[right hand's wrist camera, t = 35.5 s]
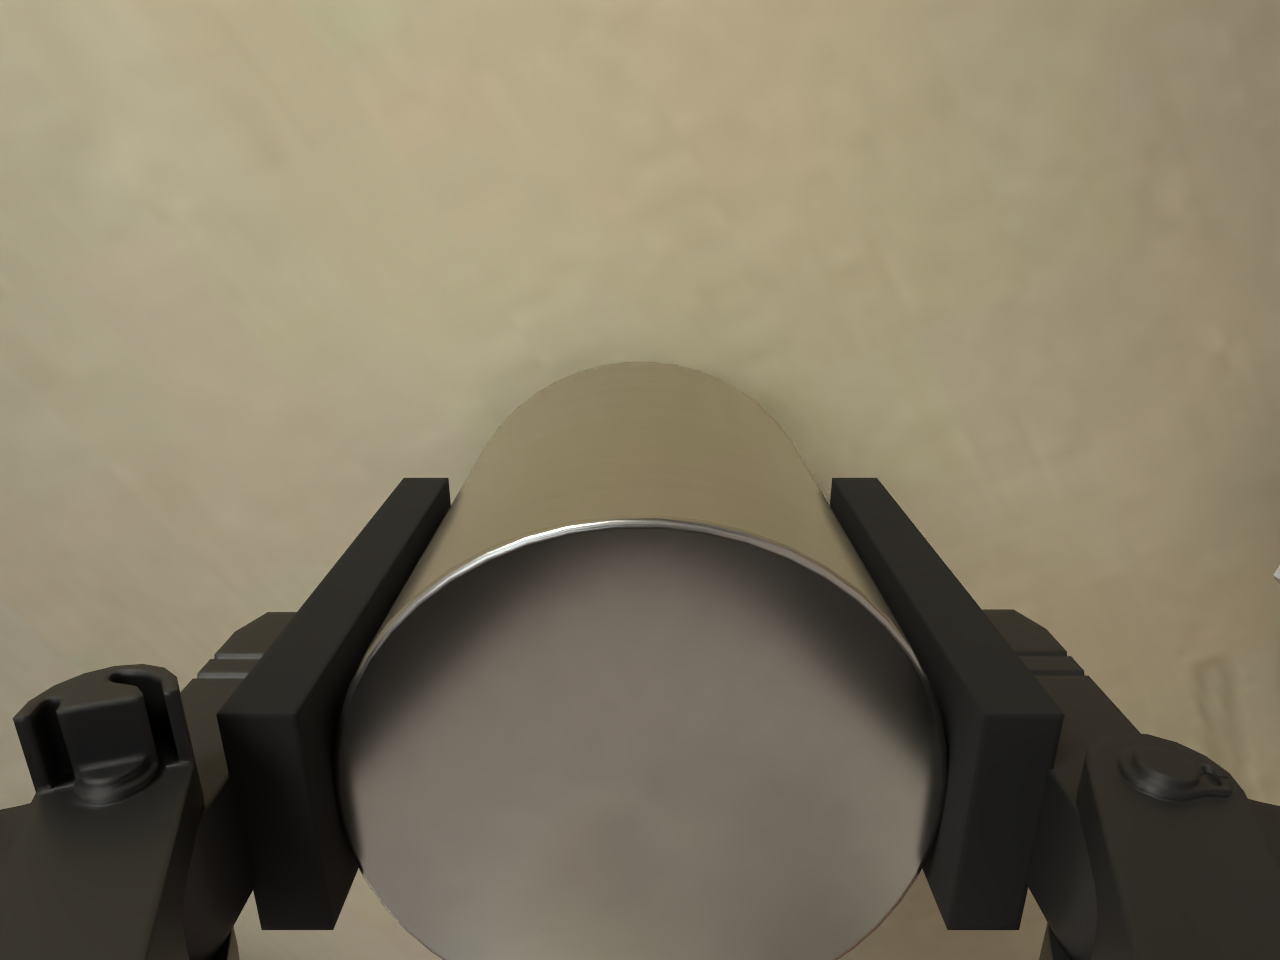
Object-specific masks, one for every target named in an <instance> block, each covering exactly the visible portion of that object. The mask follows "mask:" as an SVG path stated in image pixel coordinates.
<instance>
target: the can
mask: <svg viewBox="0 0 1280 960" xmlns="http://www.w3.org/2000/svg"><path fill="white" fill-rule="evenodd" d="M333 758H334V790H335V796H336V801H337V807H338V813H339V819H340V822H341V825H342V828H343V831H344V834H345V837H346V840H347V843H348V846H349V849H350V851H351V853H352V855H353V857H354V859H355V861H356V863H357V865H358V867H359V869H360V871H361V873H362V875H363V877H364V879H365V880H366V882H367V883H368V884H369V886H370V887H371V889H372V890H373V891H374V893H375V894H376V896H377V897H378V899H379V900H380V901H381V903H382V904H383V906H384V907H385V908H386V909H387V910H388V911H389V912H390V913H391V914H392V915H393V917H394V918H395V919H396V920H397V921H398V922H399V923H400V924H401V925H402V926H403V927H404V928H405V930H406V931H408V932H409V933H410V934H411V935H412V936H414V937H415V938H416V939H417V940H418V941H419V942H421V943H422V944H423V945H424V946H425V947H426V948H428V949H429V950H430V951H431V952H433V953H434V954H436V955H437V956H439V957H440V958H442V959H443V960H838V959H839V958H841V957H842V956H843V955H845V954H846V953H848V952H849V951H851V950H852V949H854V948H855V947H856V946H857V945H858V944H859V943H860V942H862V941H863V940H864V939H865V938H866V937H867V936H868V935H869V934H871V933H872V932H873V931H874V930H875V929H876V928H877V927H879V925H880V924H881V923H882V922H883V921H884V920H885V919H886V918H887V916H888V915H889V914H890V913H891V912H892V911H893V910H894V908H895V907H896V906H897V905H898V904H899V903H900V902H901V900H902V899H903V897H904V896H905V894H906V893H907V891H908V890H909V888H910V887H911V885H912V884H913V882H914V881H915V879H916V878H917V876H918V875H919V873H920V871H921V869H922V867H923V865H924V863H925V861H926V858H927V856H928V854H929V852H930V850H931V848H932V846H933V843H934V840H935V837H936V834H937V830H938V827H939V824H940V821H941V817H942V814H943V807H944V800H945V793H946V786H947V743H946V737H945V732H944V726H943V721H942V715H941V711H940V708H939V705H938V702H937V700H936V697H935V694H934V691H933V688H932V686H931V683H930V680H929V678H928V676H927V674H926V672H925V671H924V669H923V667H922V665H921V663H920V662H919V660H918V658H917V656H916V654H915V652H914V651H913V649H912V647H911V645H910V644H909V642H908V640H907V638H906V637H905V635H904V633H903V632H902V630H901V628H900V626H899V625H898V623H897V621H896V619H895V618H894V616H893V614H892V613H891V611H890V609H889V607H888V606H887V604H886V602H885V601H884V599H883V597H882V595H881V594H880V592H879V590H878V589H877V587H876V585H875V583H874V582H873V580H872V578H871V576H870V575H869V573H868V571H867V570H866V568H865V566H864V564H863V563H862V561H861V559H860V558H859V556H858V554H857V552H856V551H855V549H854V547H853V546H852V544H851V542H850V540H849V539H848V537H847V535H846V533H845V532H844V530H843V528H842V527H841V525H840V523H839V521H838V520H837V518H836V516H835V515H834V513H833V511H832V509H831V508H830V506H829V504H828V503H827V501H826V499H825V497H824V496H823V494H822V492H821V490H820V489H819V487H818V485H817V484H816V482H815V480H814V478H813V477H812V475H811V473H810V472H809V470H808V468H807V466H806V465H805V463H804V461H803V459H802V458H801V456H800V454H799V453H798V451H797V449H796V447H795V446H794V444H793V442H792V441H791V439H790V438H789V437H788V435H787V434H786V433H785V431H784V430H783V429H782V427H781V426H780V425H779V423H778V422H777V421H776V420H775V419H774V418H773V417H772V416H771V415H770V414H769V413H768V412H767V411H766V410H765V409H764V408H763V407H762V406H761V405H759V404H758V403H757V402H755V401H754V400H753V399H751V398H750V397H749V396H747V395H746V394H745V393H743V392H742V391H740V390H738V389H737V388H735V387H733V386H731V385H729V384H728V383H726V382H724V381H722V380H720V379H718V378H715V377H713V376H710V375H708V374H705V373H703V372H700V371H697V370H693V369H689V368H685V367H681V366H677V365H671V364H662V363H654V362H625V363H618V364H611V365H604V366H599V367H595V368H592V369H588V370H585V371H581V372H577V373H575V374H573V375H570V376H568V377H566V378H563V379H561V380H559V381H556V382H554V383H553V384H551V385H549V386H548V387H546V388H544V389H543V390H541V391H539V392H537V393H536V394H534V395H533V396H532V397H530V398H529V399H528V400H527V401H525V402H524V403H523V404H522V405H520V406H519V407H518V408H517V409H516V410H515V411H514V412H513V413H512V414H511V415H510V416H509V417H508V418H507V419H506V420H505V421H504V422H503V423H502V424H501V425H500V427H499V428H498V429H497V431H496V432H495V434H494V435H493V436H492V438H491V439H490V441H489V442H488V443H487V445H486V447H485V448H484V450H483V452H482V454H481V455H480V457H479V459H478V460H477V462H476V464H475V466H474V467H473V469H472V471H471V472H470V474H469V476H468V478H467V479H466V481H465V483H464V484H463V486H462V488H461V490H460V491H459V493H458V495H457V497H456V498H455V500H454V502H453V503H452V505H451V507H450V509H449V510H448V512H447V514H446V515H445V517H444V519H443V521H442V522H441V524H440V526H439V527H438V529H437V531H436V533H435V534H434V536H433V538H432V540H431V541H430V543H429V545H428V546H427V548H426V550H425V552H424V553H423V555H422V557H421V558H420V560H419V562H418V564H417V565H416V567H415V569H414V570H413V572H412V574H411V576H410V577H409V579H408V581H407V583H406V584H405V586H404V588H403V589H402V591H401V593H400V595H399V596H398V598H397V600H396V601H395V603H394V605H393V607H392V608H391V610H390V612H389V613H388V615H387V617H386V619H385V620H384V622H383V624H382V626H381V627H380V629H379V631H378V632H377V634H376V636H375V638H374V639H373V641H372V643H371V644H370V646H369V648H368V650H367V651H366V653H365V655H364V657H363V659H362V661H361V663H360V665H359V667H358V669H357V671H356V672H355V674H354V676H353V678H352V680H351V682H350V684H349V687H348V690H347V693H346V696H345V699H344V702H343V705H342V708H341V711H340V714H339V718H338V724H337V731H336V737H335V743H334V750H333Z"/></svg>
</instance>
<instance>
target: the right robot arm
mask: <svg viewBox="0 0 1280 960" xmlns="http://www.w3.org/2000/svg"><path fill="white" fill-rule="evenodd" d="M450 507H451V504H450V492H449V480H448V478H403V480H402V481H401V482H400V483H399V485H398V486H397V487H396V488H395V490H394V491H393V492H392V493H391V495H390V496H389V497H388V499H387V500H386V501H385V502H384V504H383V505H382V506H381V507H380V509H379V510H378V511H377V512H376V514H375V515H374V516H373V517H372V519H371V520H370V521H369V522H368V524H367V525H366V526H365V527H364V529H363V530H362V531H361V532H360V534H359V535H358V536H357V538H356V539H355V540H354V541H353V543H352V544H351V545H350V546H349V548H348V549H347V550H346V551H345V553H344V554H343V555H342V556H341V558H340V559H339V560H338V561H337V563H336V564H335V565H334V566H333V568H332V569H331V570H330V572H329V573H328V574H327V575H326V577H325V578H324V579H323V580H322V582H321V583H320V584H319V585H318V587H317V588H316V589H315V590H314V592H313V593H312V594H311V595H310V597H309V598H308V599H307V600H306V602H305V603H304V604H303V605H302V607H301V608H300V609H299V611H298V612H267V613H266V614H264V615H262V616H261V617H259V618H257V619H256V620H254V621H252V622H251V623H249V624H247V625H246V626H244V627H242V628H241V629H239V630H237V631H236V632H234V634H233V635H232V636H231V637H230V638H229V639H228V640H227V641H226V642H225V644H224V645H223V646H222V647H221V648H220V649H219V650H218V651H217V653H216V654H215V658H214V659H210V660H209V661H208V663H207V664H206V665H205V666H204V667H203V668H202V669H201V670H200V671H199V673H198V676H197V679H192V680H191V681H190V683H189V684H188V685H187V686H186V687H185V688H184V689H183V690H182V691H181V693H180V690H179V685H178V681H177V677H176V676H175V675H173V674H172V673H171V672H169V671H168V670H167V669H165V668H163V667H157V666H151V665H145V664H137V665H123V666H113V667H109V668H105V669H101V670H97V671H92V672H88V673H84V674H82V675H79V676H77V677H74V678H72V679H69V680H67V681H64V682H62V683H59V684H57V685H55V686H53V687H51V688H50V689H48V690H46V691H45V692H43V693H41V694H40V695H38V696H37V697H35V698H33V699H32V700H30V701H29V702H28V703H27V704H26V705H25V706H24V707H23V708H22V709H21V710H20V711H19V712H18V713H17V714H16V715H15V717H14V718H13V721H14V724H15V727H16V730H17V733H18V736H19V740H20V743H21V746H22V749H23V752H24V756H25V759H26V762H27V765H28V768H29V771H30V775H31V778H32V781H33V784H34V787H35V791H36V794H35V796H34V798H33V800H32V802H31V803H29V804H26V805H22V806H17V807H12V808H8V809H3V810H0V960H239V953H238V946H237V940H236V936H235V931H234V927H233V926H234V924H235V922H236V920H237V918H238V916H239V915H240V913H241V911H242V909H243V907H244V905H245V904H246V902H247V900H248V898H249V896H250V894H251V893H252V891H254V895H255V900H256V905H257V910H258V914H259V919H260V924H261V928H262V930H333V929H334V926H335V924H336V922H337V919H338V917H339V914H340V912H341V909H342V907H343V905H344V902H345V900H346V897H347V895H348V892H349V890H350V887H351V885H352V883H353V880H354V878H355V875H356V873H357V870H358V868H359V867H358V865H357V863H356V861H355V859H354V857H353V855H352V853H351V851H350V849H349V846H348V843H347V840H346V837H345V834H344V831H343V828H342V825H341V822H340V819H339V813H338V807H337V801H336V796H335V790H334V758H333V750H334V743H335V737H336V731H337V724H338V718H339V714H340V711H341V708H342V705H343V702H344V699H345V696H346V693H347V690H348V687H349V684H350V682H351V680H352V678H353V676H354V674H355V672H356V671H357V669H358V667H359V665H360V663H361V661H362V659H363V657H364V655H365V653H366V651H367V650H368V648H369V646H370V644H371V643H372V641H373V639H374V638H375V636H376V634H377V632H378V631H379V629H380V627H381V626H382V624H383V622H384V620H385V619H386V617H387V615H388V613H389V612H390V610H391V608H392V607H393V605H394V603H395V601H396V600H397V598H398V596H399V595H400V593H401V591H402V589H403V588H404V586H405V584H406V583H407V581H408V579H409V577H410V576H411V574H412V572H413V570H414V569H415V567H416V565H417V564H418V562H419V560H420V558H421V557H422V555H423V553H424V552H425V550H426V548H427V546H428V545H429V543H430V541H431V540H432V538H433V536H434V534H435V533H436V531H437V529H438V527H439V526H440V524H441V522H442V521H443V519H444V517H445V515H446V514H447V512H448V510H449V509H450ZM830 508H831V509H832V511H833V513H834V515H835V516H836V518H837V520H838V521H839V523H840V525H841V527H842V528H843V530H844V532H845V533H846V535H847V537H848V539H849V540H850V542H851V544H852V546H853V547H854V549H855V551H856V552H857V554H858V556H859V558H860V559H861V561H862V563H863V564H864V566H865V568H866V570H867V571H868V573H869V575H870V576H871V578H872V580H873V582H874V583H875V585H876V587H877V589H878V590H879V592H880V594H881V595H882V597H883V599H884V601H885V602H886V604H887V606H888V607H889V609H890V611H891V613H892V614H893V616H894V618H895V619H896V621H897V623H898V625H899V626H900V628H901V630H902V632H903V633H904V635H905V637H906V638H907V640H908V642H909V644H910V645H911V647H912V649H913V651H914V652H915V654H916V656H917V658H918V660H919V662H920V663H921V665H922V667H923V669H924V671H925V672H926V674H927V676H928V678H929V680H930V683H931V686H932V688H933V691H934V694H935V697H936V700H937V702H938V705H939V708H940V711H941V715H942V721H943V726H944V732H945V737H946V743H947V786H946V793H945V800H944V807H943V814H942V817H941V821H940V824H939V827H938V830H937V834H936V837H935V840H934V843H933V846H932V848H931V850H930V852H929V854H928V856H927V858H926V861H925V863H924V865H923V867H922V869H923V871H924V873H925V876H926V878H927V881H928V883H929V886H930V888H931V891H932V893H933V895H934V898H935V900H936V903H937V905H938V908H939V910H940V913H941V915H942V917H943V920H944V922H945V925H946V927H947V930H1019V927H1020V923H1021V918H1022V913H1023V908H1024V904H1025V899H1026V894H1027V890H1028V887H1029V889H1030V891H1031V893H1032V894H1033V896H1034V898H1035V900H1036V902H1037V903H1038V905H1039V907H1040V909H1041V911H1042V913H1043V914H1044V916H1045V918H1046V920H1047V922H1048V923H1047V927H1046V931H1045V936H1044V940H1043V945H1042V949H1041V953H1040V958H1039V960H1280V806H1276V805H1272V804H1267V803H1262V802H1258V801H1254V800H1250V799H1247V797H1246V795H1245V793H1244V791H1243V790H1242V789H1241V787H1240V786H1239V785H1238V784H1237V782H1236V781H1235V780H1234V778H1233V777H1232V776H1231V775H1230V773H1228V772H1227V771H1226V770H1224V769H1223V768H1221V767H1220V766H1219V765H1217V764H1216V763H1215V762H1213V761H1212V760H1210V759H1209V758H1208V757H1206V756H1205V755H1202V754H1200V753H1198V752H1196V751H1194V750H1192V749H1190V748H1188V747H1185V746H1183V745H1181V744H1179V743H1177V742H1173V741H1170V740H1166V739H1162V738H1159V737H1155V736H1152V735H1148V734H1141V733H1140V732H1139V731H1138V730H1137V729H1136V728H1135V727H1134V726H1133V724H1132V723H1131V722H1130V721H1129V720H1128V719H1127V718H1126V717H1125V716H1124V714H1123V713H1122V712H1121V711H1120V710H1119V709H1118V708H1117V707H1116V706H1115V705H1114V703H1113V702H1112V701H1111V700H1110V699H1109V698H1108V697H1107V696H1106V695H1105V693H1104V692H1103V691H1102V690H1101V689H1100V688H1099V687H1098V686H1097V685H1096V684H1095V682H1094V681H1093V680H1092V679H1091V678H1090V677H1089V676H1085V675H1084V670H1083V669H1082V668H1081V667H1080V666H1079V665H1078V664H1077V663H1076V661H1075V660H1074V659H1073V658H1072V657H1071V656H1067V651H1066V650H1065V649H1064V648H1063V647H1062V646H1061V645H1060V644H1059V643H1058V642H1057V640H1056V639H1055V638H1054V637H1053V636H1052V635H1051V634H1050V633H1049V632H1048V630H1047V629H1045V628H1044V627H1042V626H1040V625H1038V624H1037V623H1035V622H1033V621H1032V620H1030V619H1028V618H1027V617H1025V616H1023V615H1022V614H1020V613H1018V612H1017V611H1015V610H981V608H980V607H979V606H978V605H977V603H976V602H975V601H974V599H973V598H972V597H971V596H970V594H969V593H968V592H967V591H966V589H965V588H964V587H963V586H962V584H961V583H960V582H959V581H958V579H957V578H956V577H955V576H954V574H953V573H952V572H951V571H950V569H949V568H948V567H947V566H946V564H945V563H944V562H943V561H942V559H941V558H940V557H939V555H938V554H937V553H936V552H935V550H934V549H933V548H932V547H931V545H930V544H929V543H928V542H927V540H926V539H925V538H924V537H923V535H922V534H921V533H920V532H919V530H918V529H917V528H916V527H915V525H914V524H913V523H912V522H911V520H910V519H909V518H908V516H907V515H906V514H905V513H904V511H903V510H902V509H901V508H900V506H899V505H898V504H897V503H896V501H895V500H894V499H893V498H892V496H891V495H890V494H889V493H888V491H887V490H886V489H885V488H884V486H883V485H882V484H881V483H880V481H879V480H878V479H877V478H832V488H831V500H830Z"/></svg>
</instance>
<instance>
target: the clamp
mask: <svg viewBox="0 0 1280 960" xmlns="http://www.w3.org/2000/svg"><path fill="white" fill-rule="evenodd" d="M1273 576H1274V577H1275V578H1276V579H1277V581H1278V582H1279V583H1280V565H1279V567H1278V568H1277V570H1276V571H1275V573H1274V574H1273Z"/></svg>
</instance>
